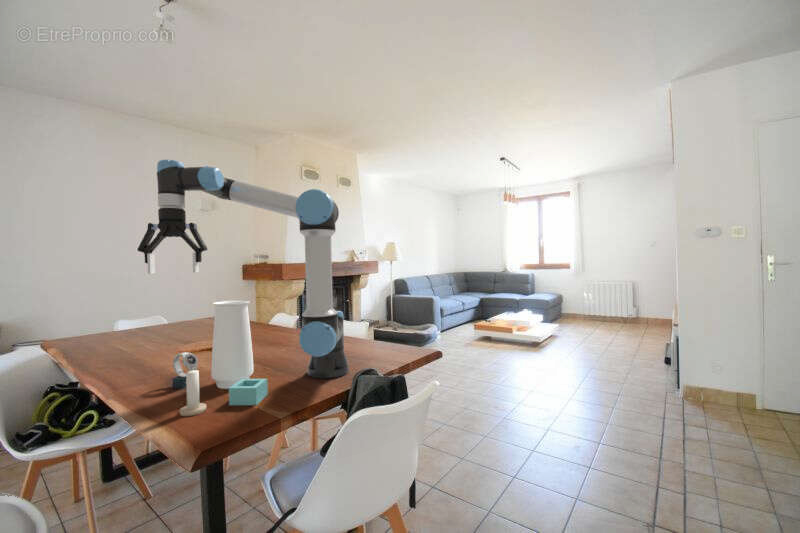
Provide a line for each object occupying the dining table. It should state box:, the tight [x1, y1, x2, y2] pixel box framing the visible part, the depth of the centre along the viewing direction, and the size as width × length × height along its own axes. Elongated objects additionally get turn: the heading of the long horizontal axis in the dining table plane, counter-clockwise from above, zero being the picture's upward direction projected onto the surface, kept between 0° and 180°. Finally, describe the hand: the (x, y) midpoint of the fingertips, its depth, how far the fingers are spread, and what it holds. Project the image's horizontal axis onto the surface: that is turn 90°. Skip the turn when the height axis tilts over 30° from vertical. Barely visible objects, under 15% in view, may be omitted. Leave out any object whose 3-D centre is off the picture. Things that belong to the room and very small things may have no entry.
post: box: [179, 369, 207, 417], centre depth 97 cm, size 6×6×11 cm
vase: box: [210, 299, 255, 390], centre depth 118 cm, size 13×13×28 cm
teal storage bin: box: [228, 378, 269, 406], centre depth 104 cm, size 8×8×5 cm
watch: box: [172, 351, 199, 389], centre depth 118 cm, size 6×8×11 cm
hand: (174, 273), depth 115 cm, fingers open, 13 cm apart
